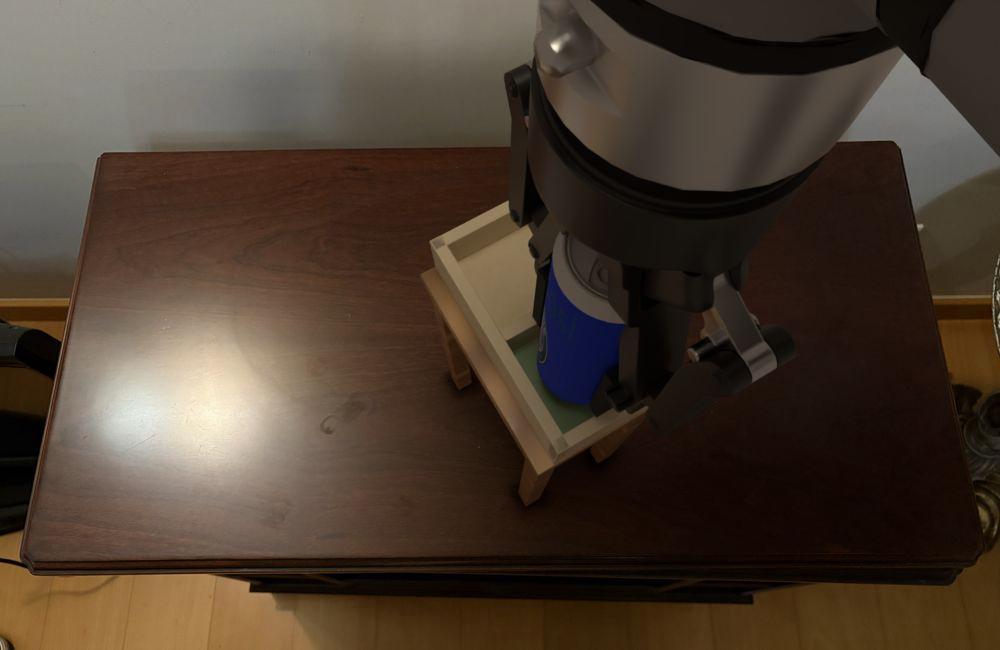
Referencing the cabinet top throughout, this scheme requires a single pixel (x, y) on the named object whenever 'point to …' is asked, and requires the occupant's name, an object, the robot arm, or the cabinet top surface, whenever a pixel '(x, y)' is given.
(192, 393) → the cabinet top surface
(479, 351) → the shelf
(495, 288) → the tray
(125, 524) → the cabinet top surface
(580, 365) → the beverage can
